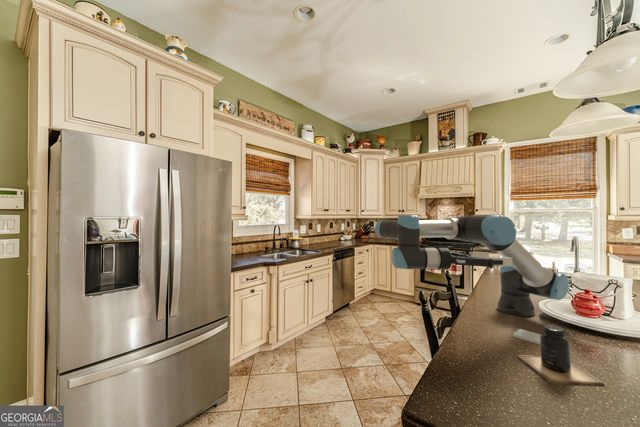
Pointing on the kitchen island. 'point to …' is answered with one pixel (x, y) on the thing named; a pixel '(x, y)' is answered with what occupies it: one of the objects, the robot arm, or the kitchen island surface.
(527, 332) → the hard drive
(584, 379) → the cork mat
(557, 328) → the supplement bottle
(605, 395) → the kitchen island surface
